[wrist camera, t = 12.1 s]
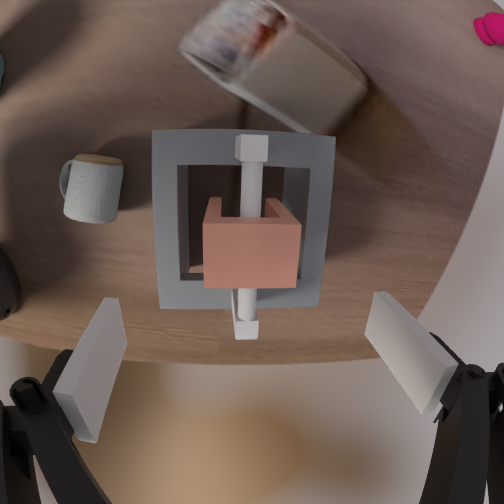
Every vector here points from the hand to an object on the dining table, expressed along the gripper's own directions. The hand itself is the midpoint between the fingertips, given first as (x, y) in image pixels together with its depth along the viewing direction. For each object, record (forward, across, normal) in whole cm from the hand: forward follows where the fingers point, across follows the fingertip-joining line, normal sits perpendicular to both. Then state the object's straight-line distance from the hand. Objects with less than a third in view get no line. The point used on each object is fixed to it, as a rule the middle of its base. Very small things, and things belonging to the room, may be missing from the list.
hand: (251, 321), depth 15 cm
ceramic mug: (+29, -19, +4) cm, 35 cm away
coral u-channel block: (+19, +1, 0) cm, 19 cm away
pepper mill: (+29, +49, +41) cm, 70 cm away
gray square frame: (+29, +1, 0) cm, 29 cm away
